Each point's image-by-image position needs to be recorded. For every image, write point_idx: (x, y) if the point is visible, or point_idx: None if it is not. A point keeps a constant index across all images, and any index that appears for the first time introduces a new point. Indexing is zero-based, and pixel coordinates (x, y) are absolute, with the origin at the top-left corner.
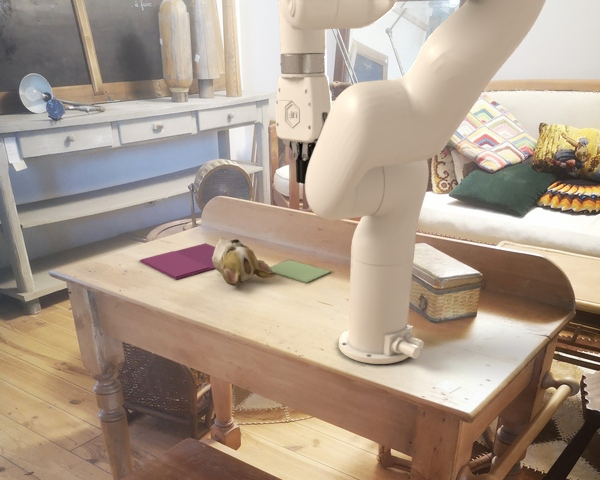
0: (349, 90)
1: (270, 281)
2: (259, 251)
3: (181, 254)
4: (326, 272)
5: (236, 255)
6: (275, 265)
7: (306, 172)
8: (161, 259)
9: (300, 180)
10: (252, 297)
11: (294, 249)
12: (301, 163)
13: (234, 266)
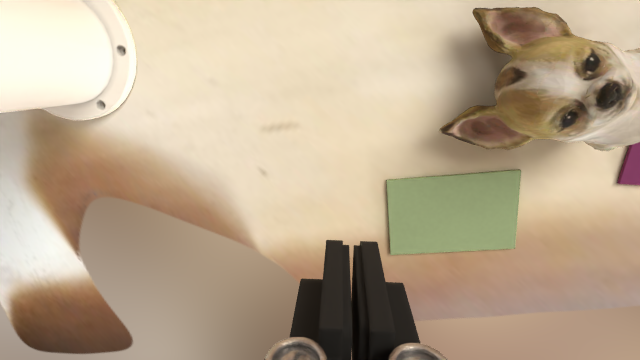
0: None
1: None
2: (625, 247)
3: None
4: (391, 244)
5: (549, 58)
6: (516, 203)
7: (313, 295)
8: None
9: (341, 245)
10: (421, 33)
11: (555, 304)
12: (325, 311)
13: (534, 47)
